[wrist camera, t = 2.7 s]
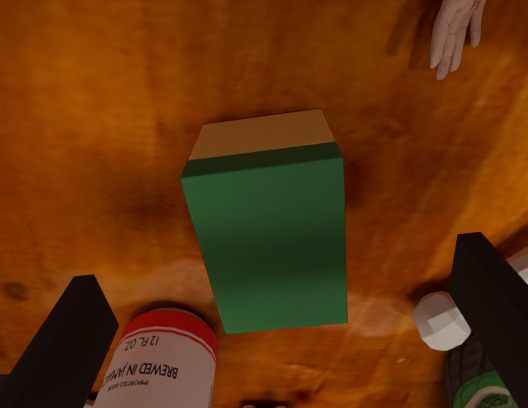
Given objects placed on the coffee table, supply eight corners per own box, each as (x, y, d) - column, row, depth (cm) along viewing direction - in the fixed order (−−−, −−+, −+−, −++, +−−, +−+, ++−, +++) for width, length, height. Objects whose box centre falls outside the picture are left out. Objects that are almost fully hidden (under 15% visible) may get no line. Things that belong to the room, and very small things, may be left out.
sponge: (202, 123, 17) (178, 178, 12) (320, 107, 16) (343, 157, 12) (233, 256, 21) (224, 335, 16) (328, 245, 21) (347, 323, 16)
